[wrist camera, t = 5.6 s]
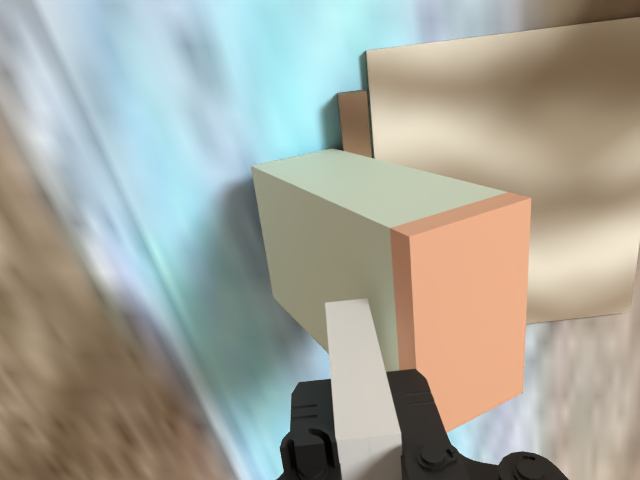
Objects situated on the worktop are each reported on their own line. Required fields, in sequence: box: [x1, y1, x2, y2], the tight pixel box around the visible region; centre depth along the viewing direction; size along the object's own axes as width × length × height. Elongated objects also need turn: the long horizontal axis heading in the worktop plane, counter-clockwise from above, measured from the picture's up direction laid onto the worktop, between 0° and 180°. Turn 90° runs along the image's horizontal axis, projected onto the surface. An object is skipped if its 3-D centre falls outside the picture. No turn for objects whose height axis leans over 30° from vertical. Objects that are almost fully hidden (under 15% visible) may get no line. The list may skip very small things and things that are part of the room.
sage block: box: [251, 148, 531, 433], centre depth 23 cm, size 8×5×14 cm, turn 7°
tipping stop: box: [337, 17, 640, 324], centre depth 29 cm, size 18×18×1 cm
